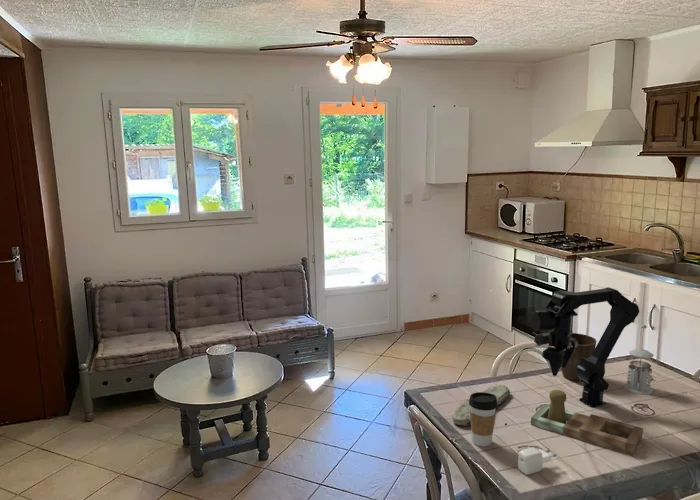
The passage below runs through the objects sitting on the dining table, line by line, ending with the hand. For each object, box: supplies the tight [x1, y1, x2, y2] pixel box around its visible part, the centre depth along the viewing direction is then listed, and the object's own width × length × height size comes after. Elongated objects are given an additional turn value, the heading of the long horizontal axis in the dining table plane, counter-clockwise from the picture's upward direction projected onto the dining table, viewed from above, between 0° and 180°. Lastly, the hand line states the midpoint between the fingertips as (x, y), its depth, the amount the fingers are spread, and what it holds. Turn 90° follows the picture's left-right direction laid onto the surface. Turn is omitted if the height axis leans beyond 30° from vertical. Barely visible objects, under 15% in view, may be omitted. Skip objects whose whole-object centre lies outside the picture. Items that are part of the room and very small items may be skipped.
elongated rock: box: [452, 384, 511, 427], centre depth 191 cm, size 35×5×10 cm
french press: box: [623, 324, 654, 395], centre depth 202 cm, size 10×12×25 cm
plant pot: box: [560, 332, 598, 382], centre depth 215 cm, size 15×15×16 cm
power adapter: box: [517, 446, 557, 476], centre depth 154 cm, size 11×5×6 cm, turn 114°
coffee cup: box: [468, 391, 498, 447], centre depth 167 cm, size 8×8×15 cm
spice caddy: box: [530, 403, 644, 456], centre depth 174 cm, size 30×12×4 cm, turn 51°
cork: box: [546, 389, 567, 424], centre depth 179 cm, size 6×6×11 cm
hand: (559, 371), depth 189 cm, fingers open, 9 cm apart
